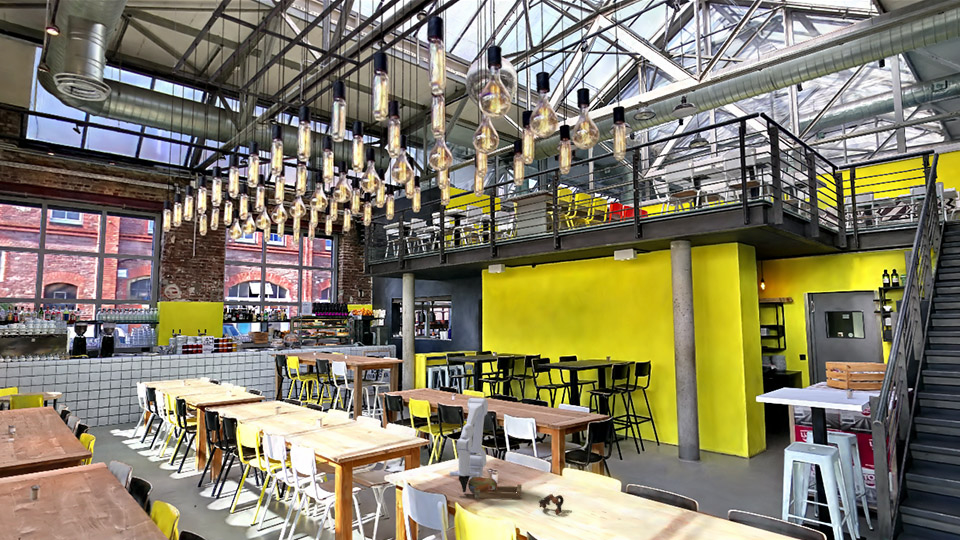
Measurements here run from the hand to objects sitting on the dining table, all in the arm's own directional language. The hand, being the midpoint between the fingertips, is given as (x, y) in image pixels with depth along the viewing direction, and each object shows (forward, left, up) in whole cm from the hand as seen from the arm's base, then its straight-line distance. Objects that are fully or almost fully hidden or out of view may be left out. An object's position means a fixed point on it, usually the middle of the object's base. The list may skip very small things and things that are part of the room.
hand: (464, 491), depth 260 cm
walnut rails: (0, +16, -1) cm, 16 cm away
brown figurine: (+20, +43, -1) cm, 47 cm away
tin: (+1, +9, -1) cm, 9 cm away
